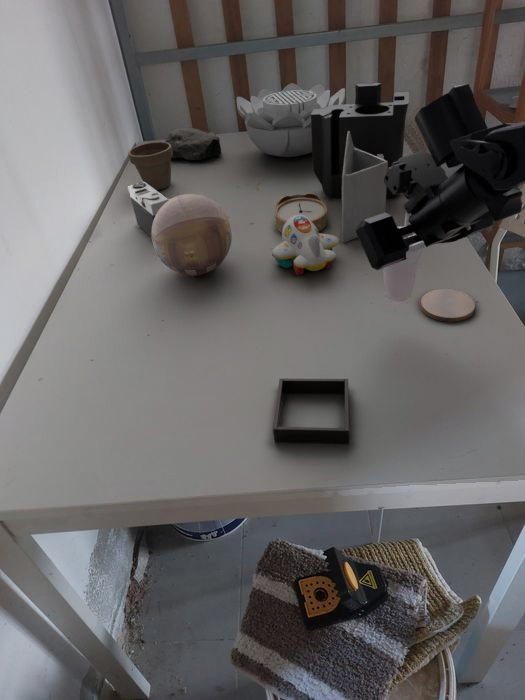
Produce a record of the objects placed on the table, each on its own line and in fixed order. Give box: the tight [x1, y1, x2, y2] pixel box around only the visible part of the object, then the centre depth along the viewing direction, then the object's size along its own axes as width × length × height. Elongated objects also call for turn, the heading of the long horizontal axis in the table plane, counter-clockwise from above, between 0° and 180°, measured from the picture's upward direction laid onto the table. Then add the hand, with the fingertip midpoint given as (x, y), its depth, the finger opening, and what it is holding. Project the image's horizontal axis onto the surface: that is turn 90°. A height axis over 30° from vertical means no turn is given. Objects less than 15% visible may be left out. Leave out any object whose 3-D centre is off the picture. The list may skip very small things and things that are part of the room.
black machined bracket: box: [311, 82, 410, 199], centre depth 118 cm, size 12×21×22 cm, turn 77°
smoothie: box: [382, 211, 426, 303], centre depth 74 cm, size 6×6×14 cm
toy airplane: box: [271, 215, 340, 275], centre depth 98 cm, size 13×9×15 cm
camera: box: [127, 181, 171, 239], centre depth 115 cm, size 14×8×10 cm, turn 32°
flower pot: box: [127, 141, 173, 191], centre depth 137 cm, size 12×11×10 cm
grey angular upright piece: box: [341, 131, 388, 243], centre depth 104 cm, size 16×8×19 cm, turn 166°
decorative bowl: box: [236, 82, 346, 158], centre depth 146 cm, size 30×30×15 cm
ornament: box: [151, 193, 233, 276], centre depth 98 cm, size 15×15×15 cm
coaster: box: [420, 288, 476, 323], centre depth 85 cm, size 8×8×1 cm
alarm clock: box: [274, 192, 328, 233], centre depth 114 cm, size 11×5×15 cm
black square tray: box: [272, 378, 350, 445], centre depth 68 cm, size 9×9×2 cm
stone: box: [165, 127, 222, 161], centre depth 153 cm, size 18×9×10 cm
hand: (395, 249), depth 75 cm, fingers closed on smoothie, 6 cm apart
